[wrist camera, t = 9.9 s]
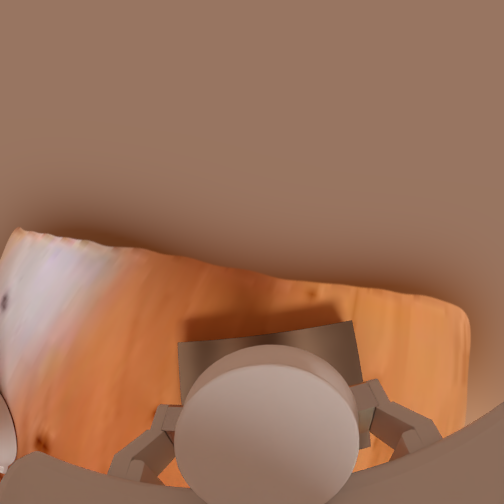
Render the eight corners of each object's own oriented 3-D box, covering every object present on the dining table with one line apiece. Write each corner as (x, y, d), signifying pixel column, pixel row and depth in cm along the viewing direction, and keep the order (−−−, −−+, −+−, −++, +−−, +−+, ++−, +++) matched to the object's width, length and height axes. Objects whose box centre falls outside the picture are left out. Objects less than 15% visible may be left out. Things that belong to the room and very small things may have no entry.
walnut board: (197, 460, 22) (188, 468, 19) (186, 347, 28) (177, 342, 25) (361, 441, 21) (371, 446, 18) (344, 326, 27) (352, 319, 25)
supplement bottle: (253, 465, 15) (211, 567, 3) (209, 389, 18) (101, 385, 6) (338, 421, 16) (430, 467, 4) (292, 346, 18) (313, 278, 7)
